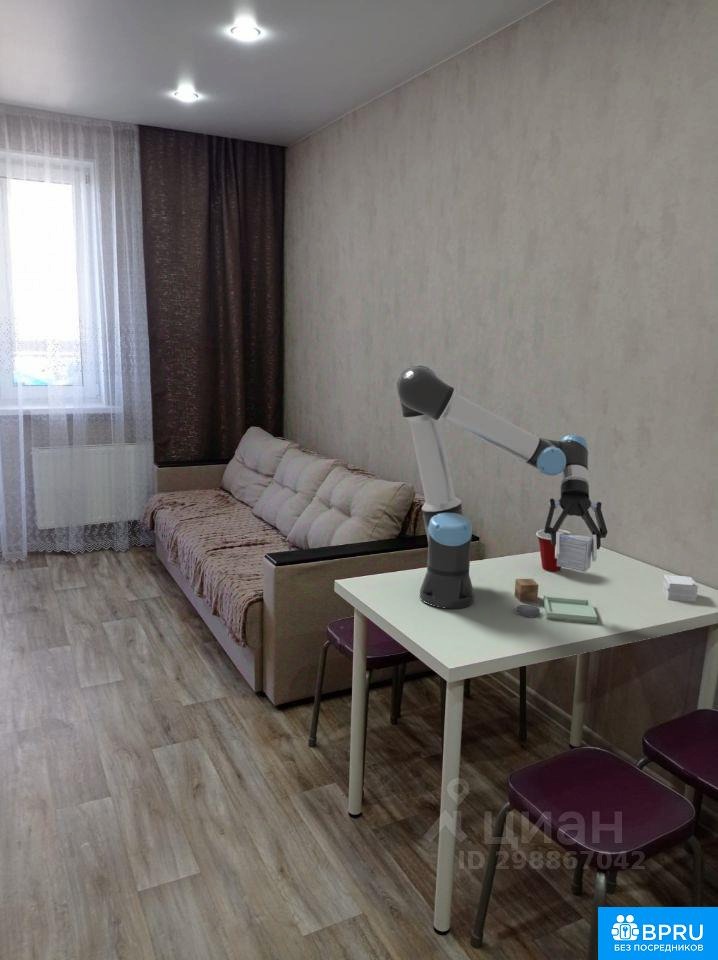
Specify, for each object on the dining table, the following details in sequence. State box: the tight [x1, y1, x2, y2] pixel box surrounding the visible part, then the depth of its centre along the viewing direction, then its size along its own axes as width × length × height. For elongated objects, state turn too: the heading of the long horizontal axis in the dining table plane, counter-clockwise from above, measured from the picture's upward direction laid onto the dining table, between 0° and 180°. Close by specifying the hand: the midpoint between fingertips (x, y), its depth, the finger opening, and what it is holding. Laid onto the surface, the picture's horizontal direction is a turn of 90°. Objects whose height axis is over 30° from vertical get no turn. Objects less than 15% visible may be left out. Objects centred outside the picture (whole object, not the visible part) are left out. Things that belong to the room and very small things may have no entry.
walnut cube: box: [514, 578, 539, 603], centre depth 205 cm, size 5×5×5 cm
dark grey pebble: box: [516, 604, 540, 618], centre depth 195 cm, size 6×6×2 cm
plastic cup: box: [535, 528, 571, 573], centre depth 231 cm, size 11×11×12 cm
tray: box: [542, 595, 598, 624], centre depth 196 cm, size 13×13×2 cm
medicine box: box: [557, 532, 593, 572], centre depth 193 cm, size 8×4×9 cm, turn 57°
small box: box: [662, 574, 699, 603], centre depth 210 cm, size 8×8×5 cm
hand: (575, 557), depth 190 cm, fingers closed on medicine box, 9 cm apart
